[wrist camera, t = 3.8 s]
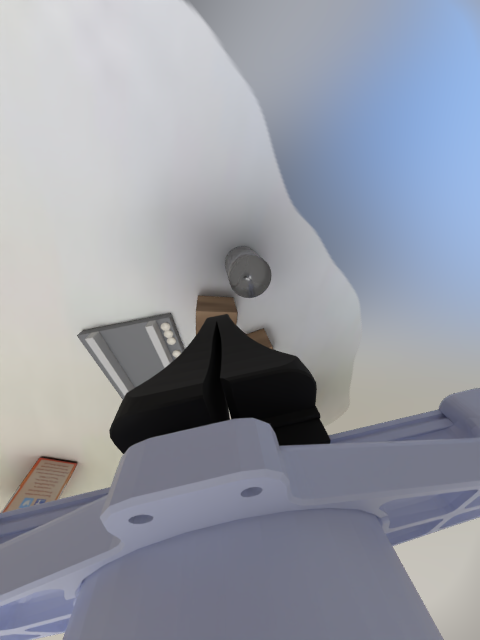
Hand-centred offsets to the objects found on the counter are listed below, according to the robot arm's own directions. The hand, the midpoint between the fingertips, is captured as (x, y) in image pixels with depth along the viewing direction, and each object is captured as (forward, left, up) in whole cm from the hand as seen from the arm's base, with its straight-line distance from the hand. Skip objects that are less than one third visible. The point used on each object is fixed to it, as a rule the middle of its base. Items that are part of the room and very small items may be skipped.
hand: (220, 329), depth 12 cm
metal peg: (+1, -3, -10) cm, 11 cm away
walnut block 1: (-4, +1, -10) cm, 11 cm away
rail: (-11, +11, -10) cm, 19 cm away
